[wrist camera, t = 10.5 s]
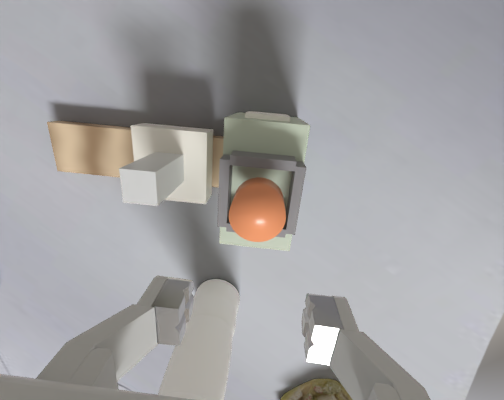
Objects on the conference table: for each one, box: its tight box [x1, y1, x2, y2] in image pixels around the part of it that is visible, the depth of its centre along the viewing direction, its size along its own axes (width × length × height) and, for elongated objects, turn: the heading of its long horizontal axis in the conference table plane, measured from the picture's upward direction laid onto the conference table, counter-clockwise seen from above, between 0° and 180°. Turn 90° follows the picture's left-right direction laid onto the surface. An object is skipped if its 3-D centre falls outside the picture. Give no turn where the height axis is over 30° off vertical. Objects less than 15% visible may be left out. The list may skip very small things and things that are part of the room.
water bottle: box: [158, 279, 240, 400], centre depth 29 cm, size 7×7×25 cm
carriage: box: [119, 123, 213, 206], centre depth 25 cm, size 8×8×10 cm
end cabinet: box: [217, 111, 310, 251], centre depth 26 cm, size 7×12×12 cm, turn 175°
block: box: [47, 121, 224, 187], centre depth 31 cm, size 22×6×2 cm, turn 85°
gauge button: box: [229, 177, 286, 242], centre depth 19 cm, size 4×4×3 cm
